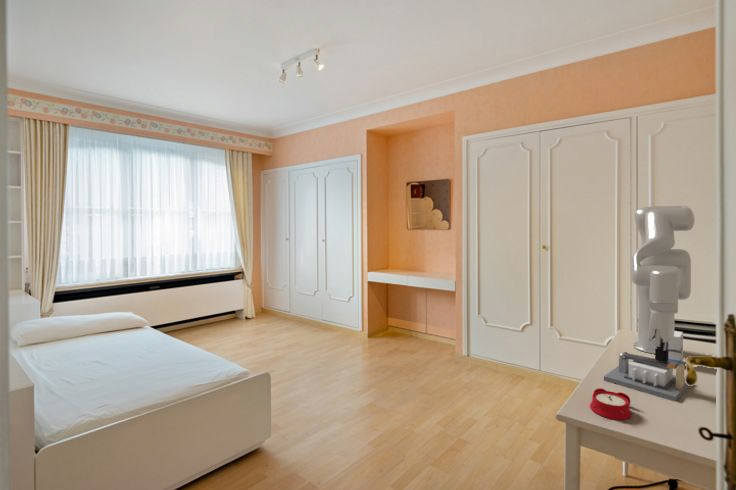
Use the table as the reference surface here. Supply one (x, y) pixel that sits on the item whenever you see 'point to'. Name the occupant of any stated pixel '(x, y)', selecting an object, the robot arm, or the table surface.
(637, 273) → the robot arm
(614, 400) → the alarm clock
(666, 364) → the grey flat bar
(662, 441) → the table surface
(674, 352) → the ink box
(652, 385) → the heatsink board
